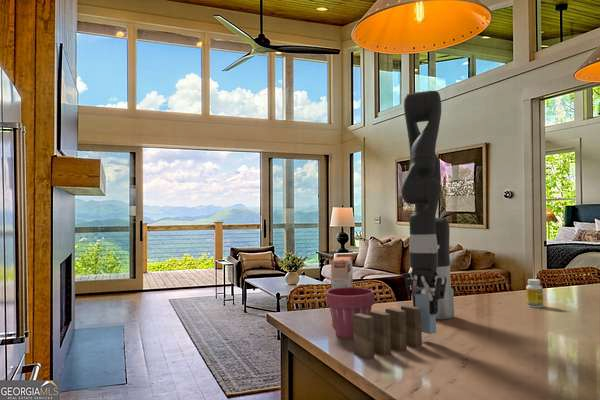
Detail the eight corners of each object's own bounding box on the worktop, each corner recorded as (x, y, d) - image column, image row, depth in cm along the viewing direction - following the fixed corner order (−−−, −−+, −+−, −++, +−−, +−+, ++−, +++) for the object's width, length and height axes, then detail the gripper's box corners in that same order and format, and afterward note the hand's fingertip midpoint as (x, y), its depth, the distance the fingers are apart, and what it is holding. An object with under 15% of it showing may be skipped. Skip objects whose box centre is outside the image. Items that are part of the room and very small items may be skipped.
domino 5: (421, 329, 133) (420, 293, 133) (436, 332, 128) (434, 295, 129) (416, 330, 132) (414, 294, 132) (430, 334, 127) (428, 296, 127)
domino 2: (377, 348, 124) (376, 310, 124) (391, 353, 120) (389, 313, 120) (370, 350, 123) (369, 311, 123) (384, 355, 119) (383, 314, 119)
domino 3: (392, 345, 127) (391, 307, 127) (406, 349, 123) (405, 310, 123) (386, 346, 126) (385, 308, 126) (400, 351, 121) (398, 312, 122)
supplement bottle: (530, 304, 175) (529, 278, 175) (545, 306, 171) (544, 279, 171) (524, 306, 171) (523, 280, 172) (540, 308, 167) (538, 281, 168)
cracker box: (350, 327, 148) (348, 260, 148) (331, 327, 149) (329, 260, 150) (354, 317, 162) (352, 256, 162) (337, 317, 163) (335, 256, 163)
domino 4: (407, 341, 130) (406, 305, 130) (422, 346, 125) (420, 308, 126) (402, 343, 129) (400, 306, 129) (415, 347, 124) (414, 309, 125)
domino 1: (360, 352, 121) (359, 313, 122) (374, 357, 117) (372, 316, 117) (354, 354, 120) (352, 314, 120) (367, 359, 116) (365, 317, 116)
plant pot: (363, 343, 130) (361, 296, 130) (318, 337, 137) (317, 293, 137) (383, 331, 142) (381, 288, 142) (341, 326, 149) (339, 285, 149)
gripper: (395, 250, 135) (397, 310, 134) (433, 252, 123) (435, 319, 122) (414, 248, 139) (416, 307, 138) (453, 251, 126) (455, 315, 126)
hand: (425, 312), depth 130 cm, fingers closed on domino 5, 5 cm apart
